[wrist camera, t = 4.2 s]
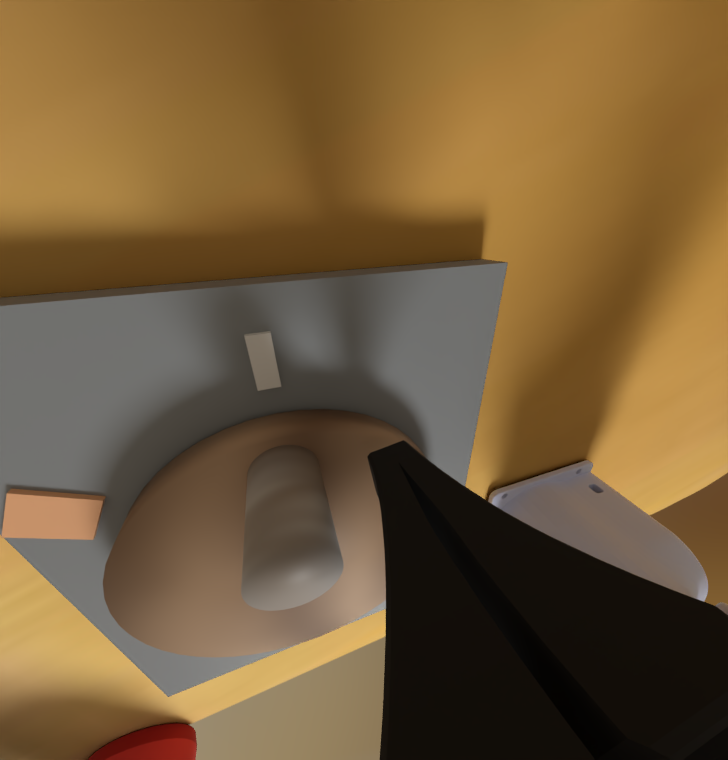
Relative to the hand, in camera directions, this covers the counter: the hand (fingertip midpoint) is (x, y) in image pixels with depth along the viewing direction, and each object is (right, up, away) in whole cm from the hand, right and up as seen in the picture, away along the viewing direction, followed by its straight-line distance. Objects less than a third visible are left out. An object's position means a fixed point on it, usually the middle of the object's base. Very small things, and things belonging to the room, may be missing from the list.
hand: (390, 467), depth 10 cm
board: (-5, -4, +6) cm, 8 cm away
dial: (-4, -4, +4) cm, 7 cm away
